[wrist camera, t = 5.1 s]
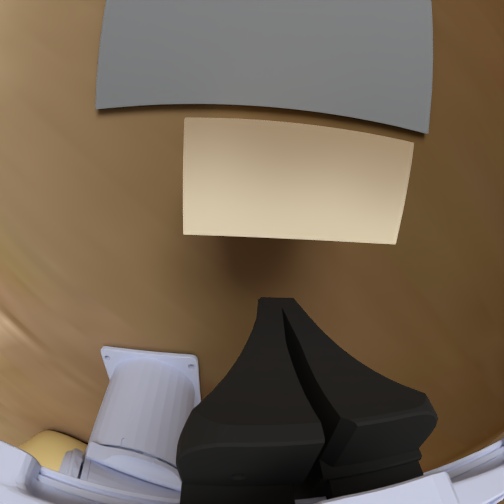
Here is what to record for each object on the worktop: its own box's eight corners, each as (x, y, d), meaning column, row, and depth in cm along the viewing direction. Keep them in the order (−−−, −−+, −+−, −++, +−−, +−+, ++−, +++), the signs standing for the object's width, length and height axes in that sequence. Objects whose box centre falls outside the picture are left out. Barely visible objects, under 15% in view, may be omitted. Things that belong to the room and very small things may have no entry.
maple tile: (316, 177, 18) (395, 245, 8) (212, 171, 17) (183, 235, 8) (321, 126, 16) (414, 142, 7) (214, 118, 16) (184, 117, 7)
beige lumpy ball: (19, 416, 28) (-7, 474, 18) (79, 422, 27) (53, 497, 17) (66, 460, 33) (50, 513, 23) (126, 467, 32) (114, 531, 22)
